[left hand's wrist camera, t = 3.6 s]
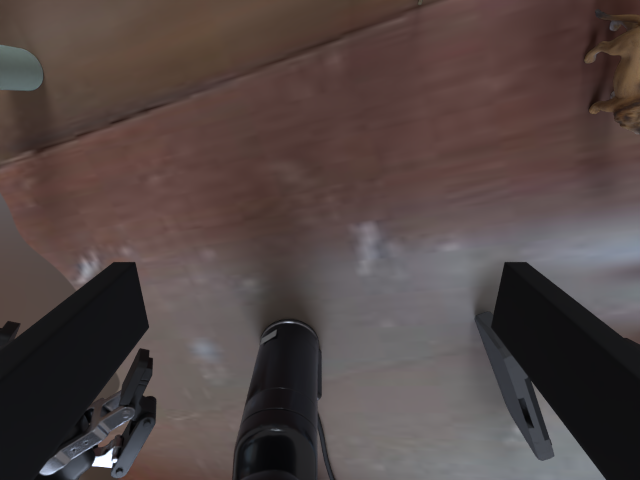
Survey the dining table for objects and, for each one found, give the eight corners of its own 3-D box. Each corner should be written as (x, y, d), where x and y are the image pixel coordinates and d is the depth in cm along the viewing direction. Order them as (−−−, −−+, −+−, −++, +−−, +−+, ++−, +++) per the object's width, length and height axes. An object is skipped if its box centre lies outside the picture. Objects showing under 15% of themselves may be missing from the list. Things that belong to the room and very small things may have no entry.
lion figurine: (636, 121, 44) (710, 126, 36) (593, 141, 45) (655, 150, 37) (615, -1, 39) (694, -29, 31) (567, 24, 40) (632, 3, 32)
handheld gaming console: (523, 406, 62) (559, 460, 52) (508, 411, 62) (541, 466, 53) (488, 305, 54) (523, 347, 45) (471, 311, 55) (502, 355, 45)
